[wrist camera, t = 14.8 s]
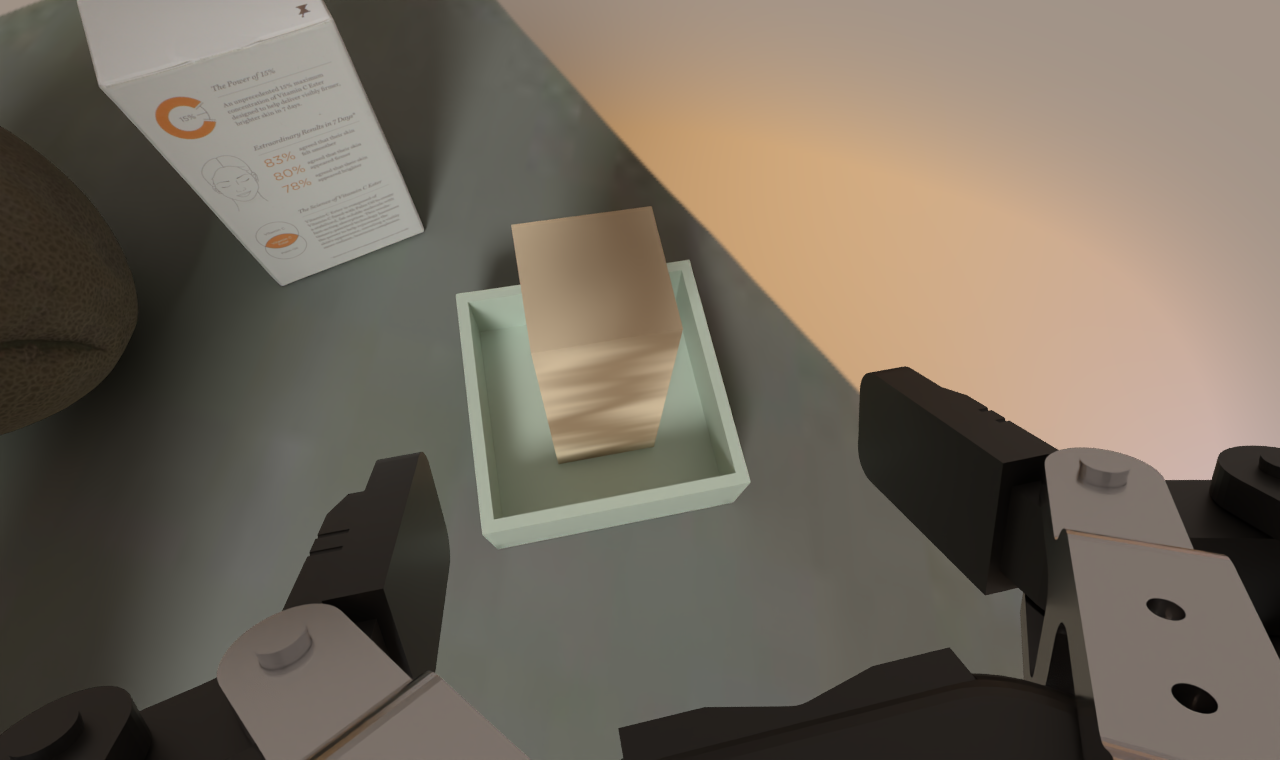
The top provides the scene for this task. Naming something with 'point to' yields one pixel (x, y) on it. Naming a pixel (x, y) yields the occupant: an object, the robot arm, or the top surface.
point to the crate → (602, 486)
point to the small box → (258, 122)
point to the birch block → (599, 328)
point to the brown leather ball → (55, 290)
